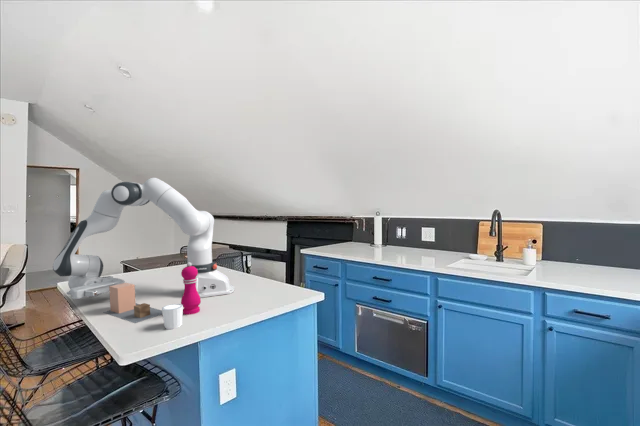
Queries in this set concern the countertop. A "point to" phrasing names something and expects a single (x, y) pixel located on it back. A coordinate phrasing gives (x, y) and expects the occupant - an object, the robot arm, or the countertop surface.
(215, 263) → the robot arm
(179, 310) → the white cup
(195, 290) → the pepper mill
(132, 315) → the mat
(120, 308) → the tan rectangular block
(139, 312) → the block
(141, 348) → the countertop surface
